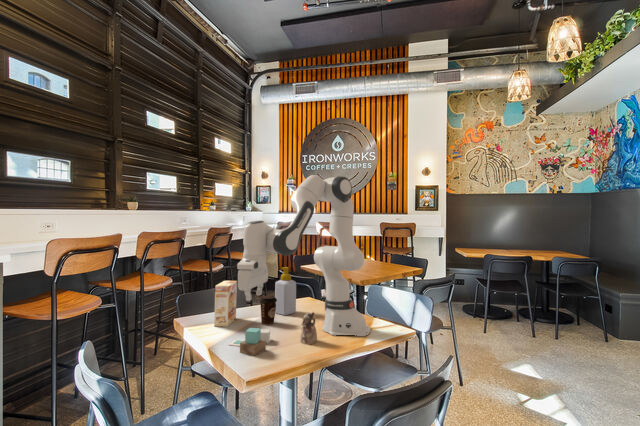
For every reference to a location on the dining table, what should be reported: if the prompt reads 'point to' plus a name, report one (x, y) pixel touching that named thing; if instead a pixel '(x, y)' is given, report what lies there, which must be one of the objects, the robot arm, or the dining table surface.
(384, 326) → the dining table surface
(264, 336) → the cream cube
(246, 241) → the robot arm
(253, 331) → the teal cube
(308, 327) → the figurine
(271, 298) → the coffee cup
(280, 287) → the soap bottle
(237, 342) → the tile
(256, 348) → the walnut base
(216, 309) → the coffeecake box
